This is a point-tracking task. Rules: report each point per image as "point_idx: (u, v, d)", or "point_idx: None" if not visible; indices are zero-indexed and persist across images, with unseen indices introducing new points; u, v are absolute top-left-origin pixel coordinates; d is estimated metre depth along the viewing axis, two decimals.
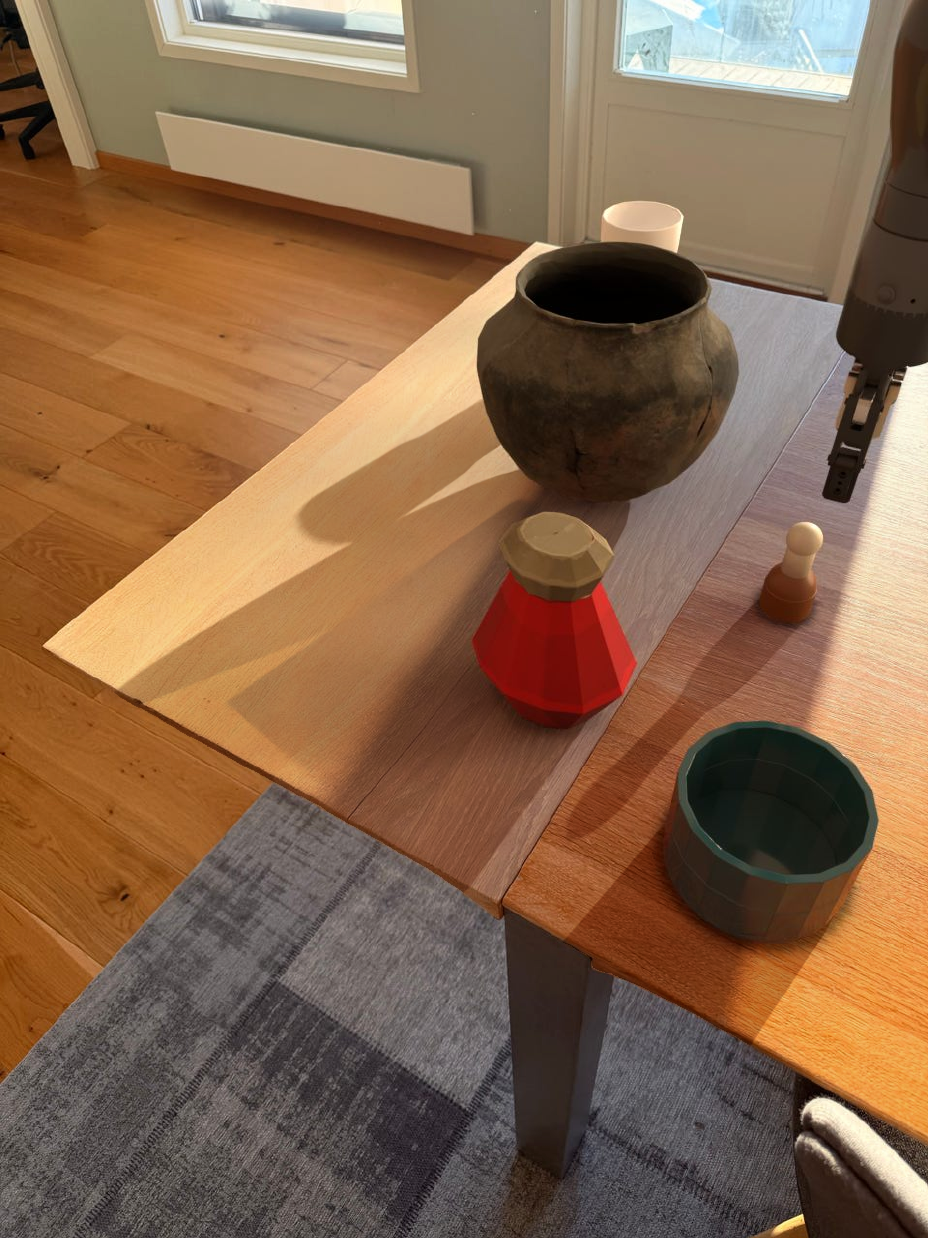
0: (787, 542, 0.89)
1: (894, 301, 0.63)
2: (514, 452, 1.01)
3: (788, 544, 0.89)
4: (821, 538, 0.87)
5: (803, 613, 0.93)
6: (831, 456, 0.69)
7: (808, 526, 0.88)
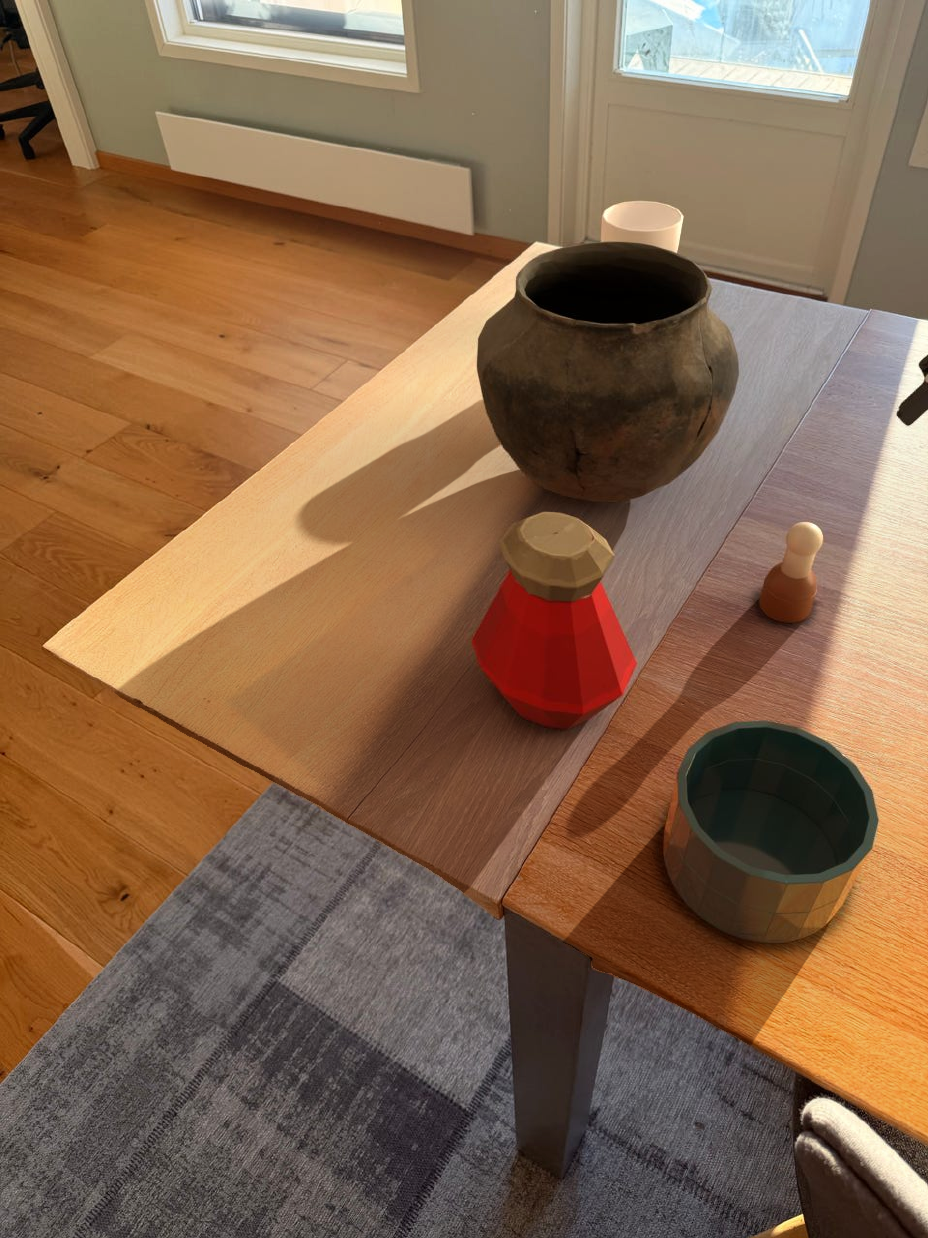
0: (787, 542, 0.89)
1: None
2: (514, 452, 1.01)
3: (788, 544, 0.89)
4: (821, 538, 0.87)
5: (803, 613, 0.93)
6: None
7: (808, 526, 0.88)
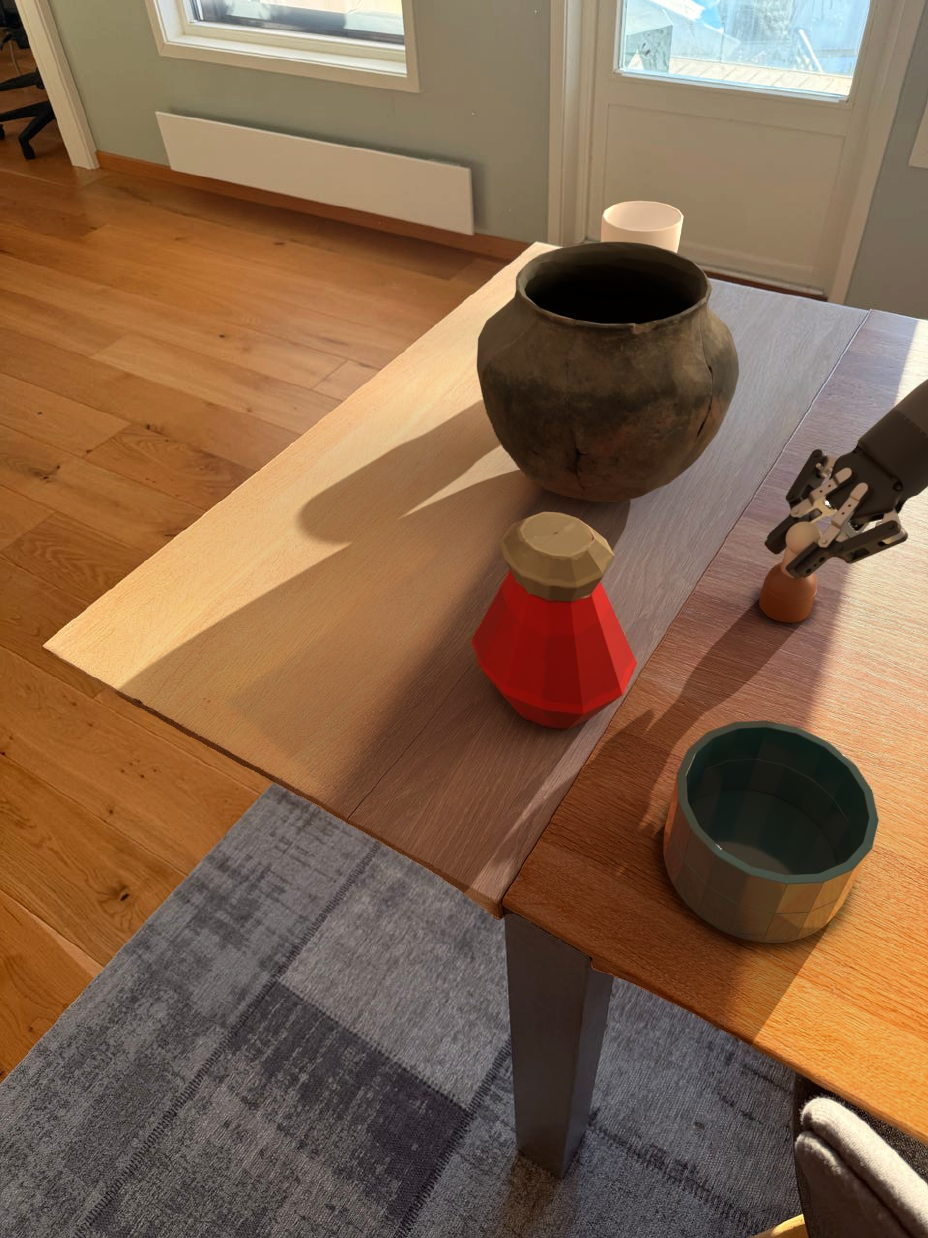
0: (787, 542, 0.89)
1: None
2: (514, 452, 1.01)
3: (788, 544, 0.89)
4: None
5: (803, 613, 0.93)
6: None
7: (808, 526, 0.88)
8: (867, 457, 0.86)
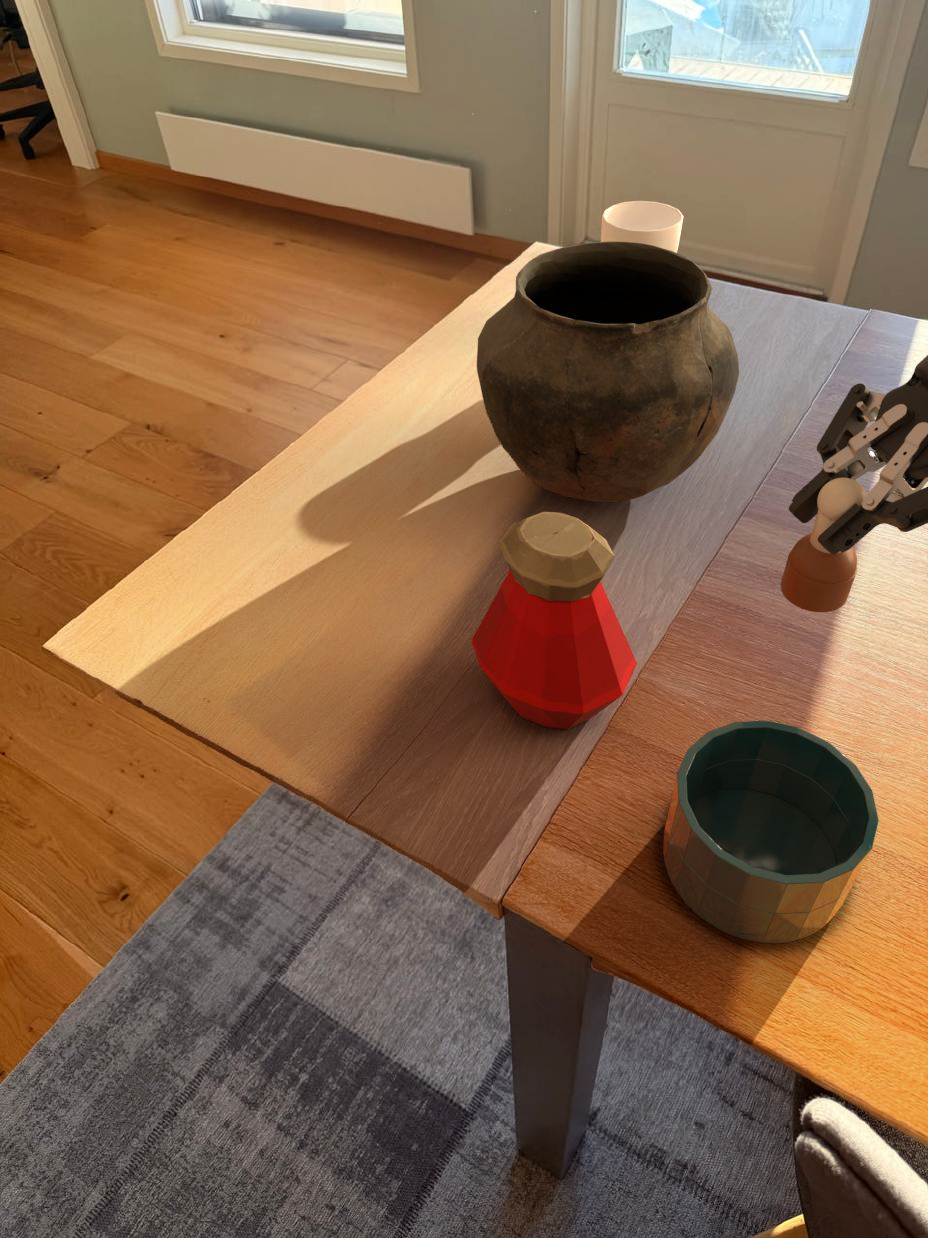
0: (819, 504, 0.67)
1: None
2: (514, 452, 1.01)
3: (820, 507, 0.67)
4: None
5: (839, 599, 0.71)
6: None
7: (847, 482, 0.66)
8: None
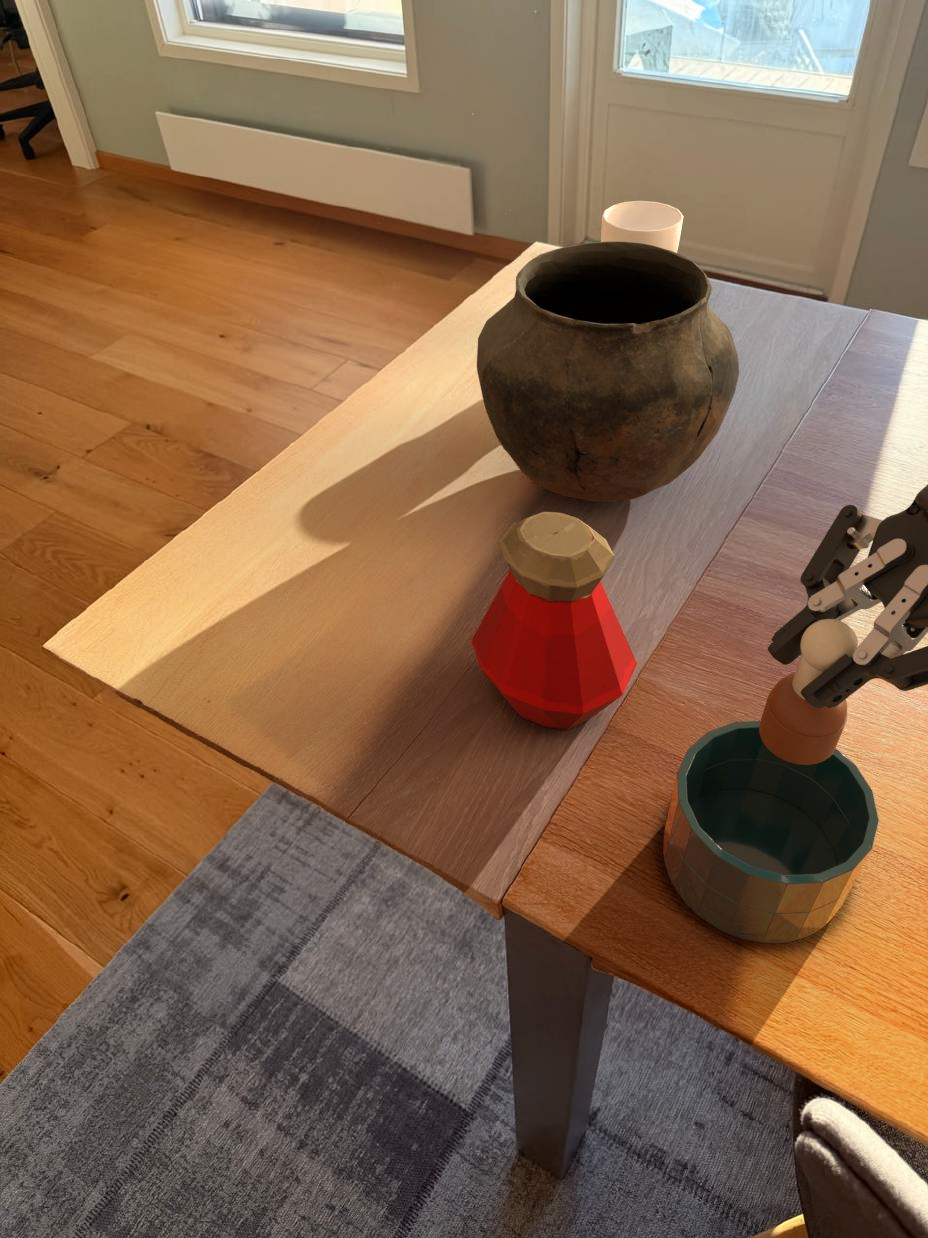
0: (803, 650, 0.57)
1: None
2: (514, 452, 1.01)
3: (804, 654, 0.57)
4: (856, 647, 0.56)
5: (826, 752, 0.61)
6: None
7: (836, 628, 0.56)
8: None
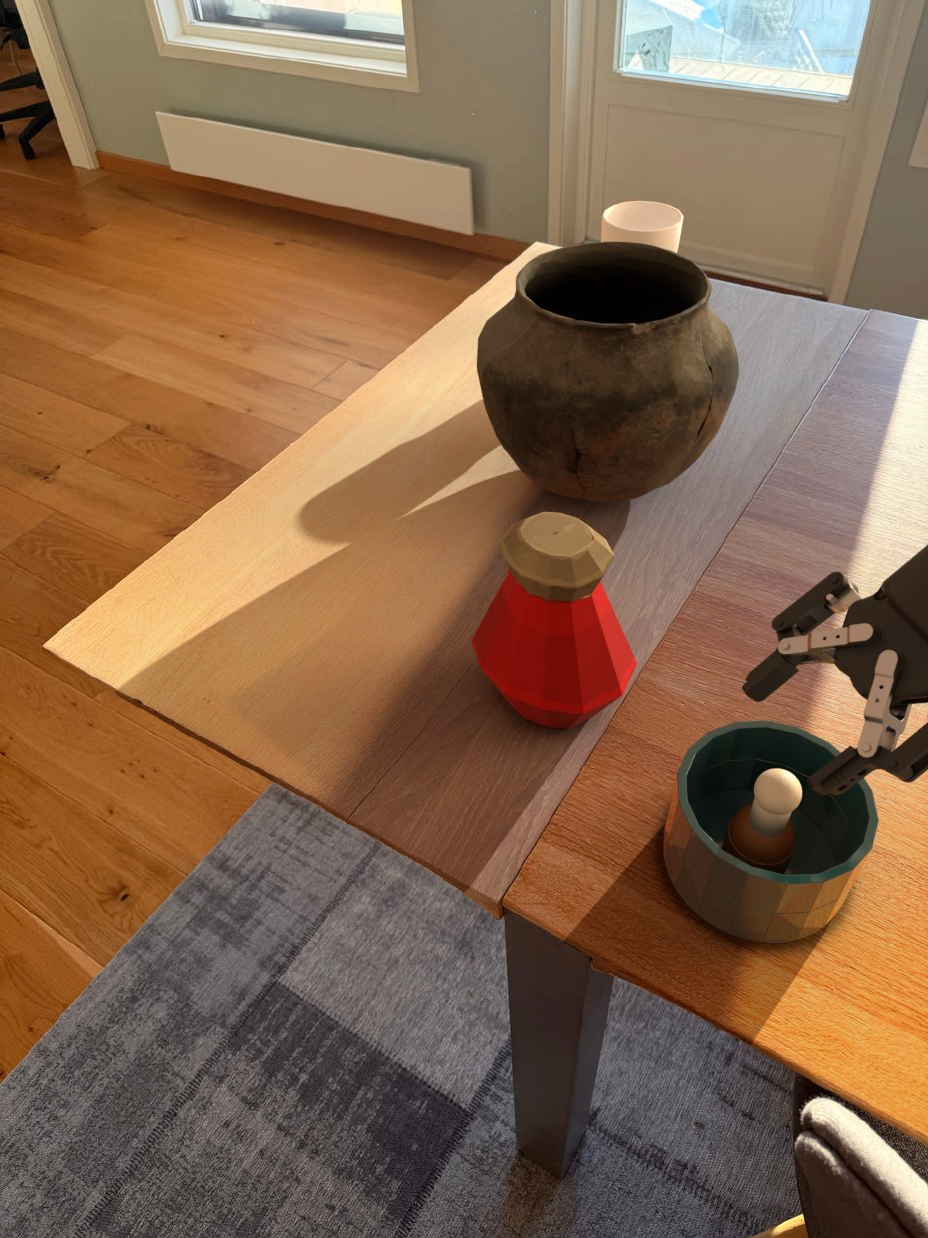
0: (755, 795, 0.67)
1: None
2: (514, 452, 1.01)
3: (756, 799, 0.67)
4: (799, 795, 0.66)
5: None
6: None
7: (782, 779, 0.66)
8: (896, 609, 0.58)
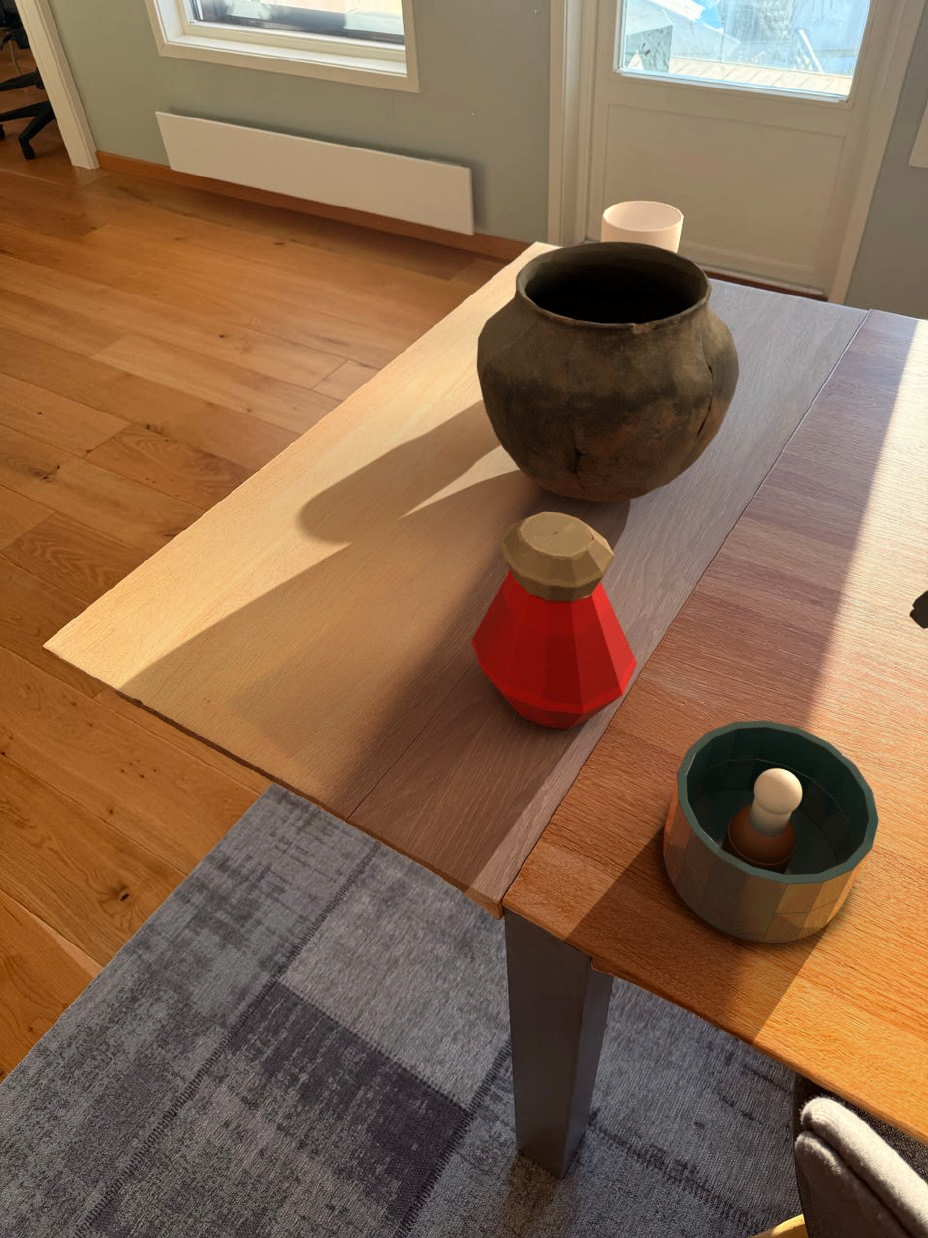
0: (755, 795, 0.67)
1: None
2: (514, 452, 1.01)
3: (756, 799, 0.67)
4: (799, 795, 0.66)
5: None
6: None
7: (782, 779, 0.66)
8: None
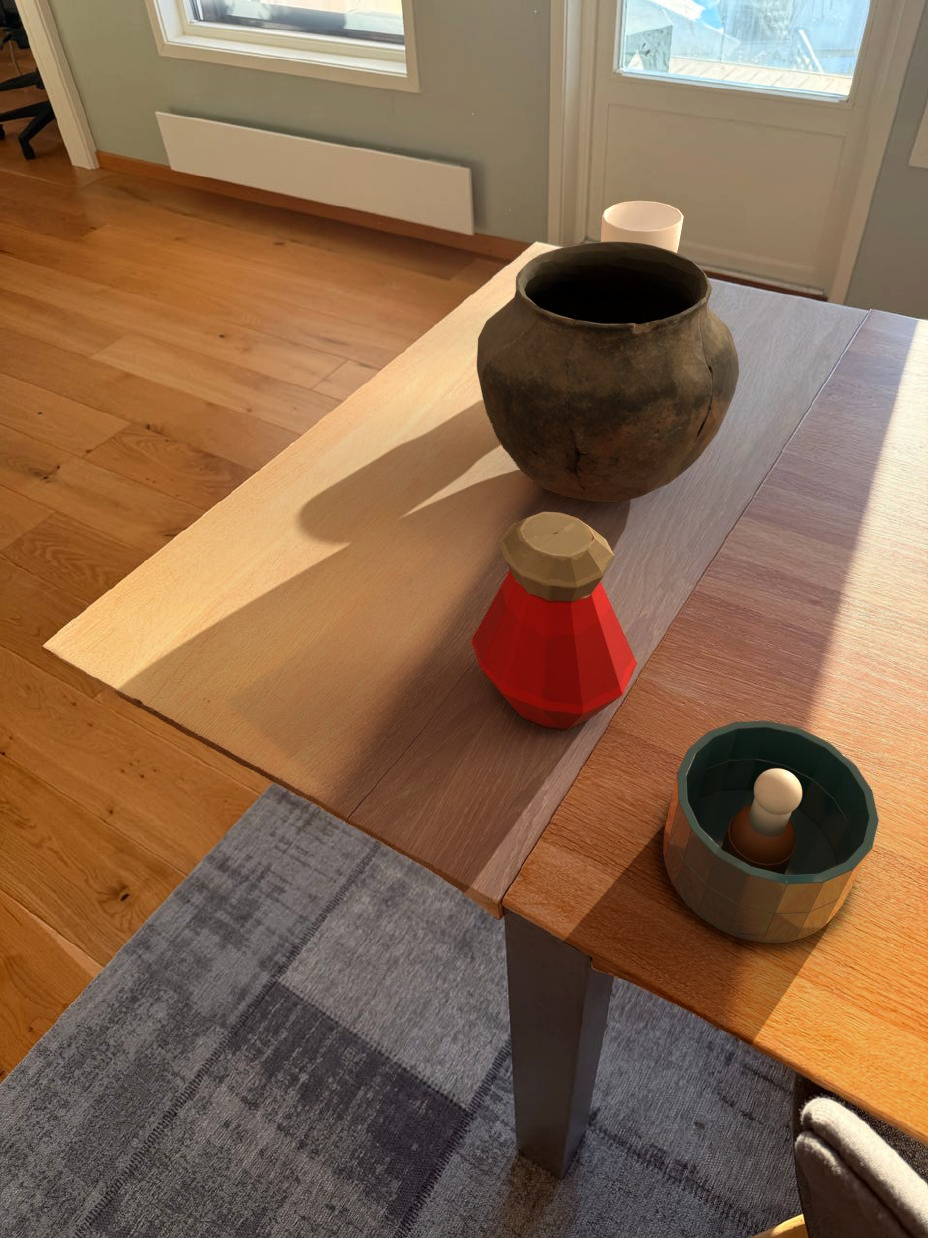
0: (755, 795, 0.67)
1: None
2: (514, 452, 1.01)
3: (756, 799, 0.67)
4: (799, 795, 0.66)
5: None
6: None
7: (782, 779, 0.66)
8: None
